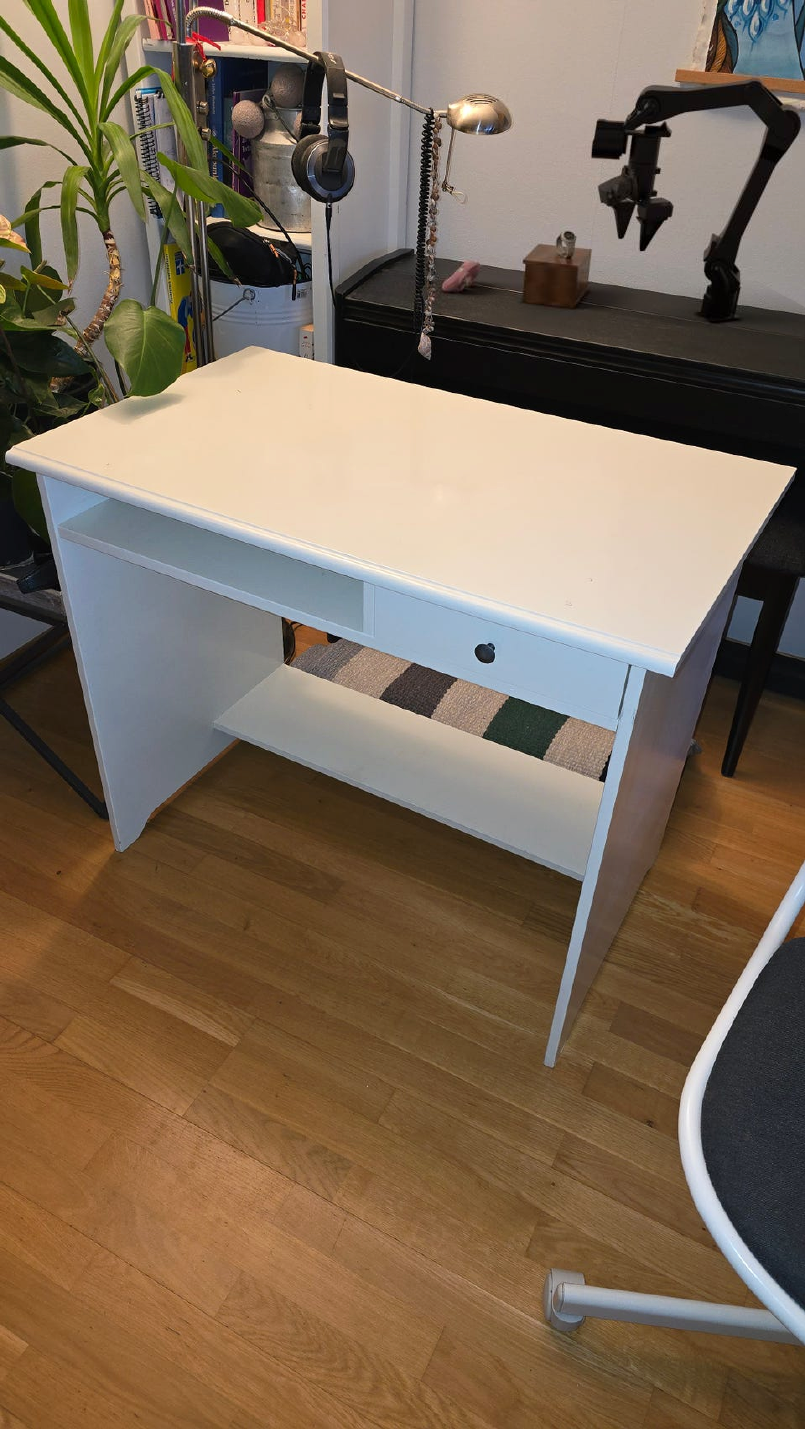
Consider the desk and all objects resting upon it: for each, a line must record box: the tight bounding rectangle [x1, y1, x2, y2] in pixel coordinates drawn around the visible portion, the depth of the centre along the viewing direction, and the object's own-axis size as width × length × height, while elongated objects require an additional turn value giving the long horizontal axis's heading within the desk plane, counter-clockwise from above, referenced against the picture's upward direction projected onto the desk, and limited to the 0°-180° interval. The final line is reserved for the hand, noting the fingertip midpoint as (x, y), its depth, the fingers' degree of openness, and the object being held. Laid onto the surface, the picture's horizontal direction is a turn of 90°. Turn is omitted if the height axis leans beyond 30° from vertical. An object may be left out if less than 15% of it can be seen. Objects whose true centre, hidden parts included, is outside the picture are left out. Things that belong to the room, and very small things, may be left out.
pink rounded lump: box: [441, 259, 483, 293], centre depth 223 cm, size 10×5×7 cm, turn 148°
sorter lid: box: [522, 243, 593, 270], centre depth 215 cm, size 12×13×1 cm
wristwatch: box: [555, 230, 577, 258], centre depth 213 cm, size 4×6×5 cm, turn 20°
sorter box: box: [522, 253, 592, 309], centre depth 218 cm, size 12×13×8 cm
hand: (631, 245), depth 206 cm, fingers open, 9 cm apart
